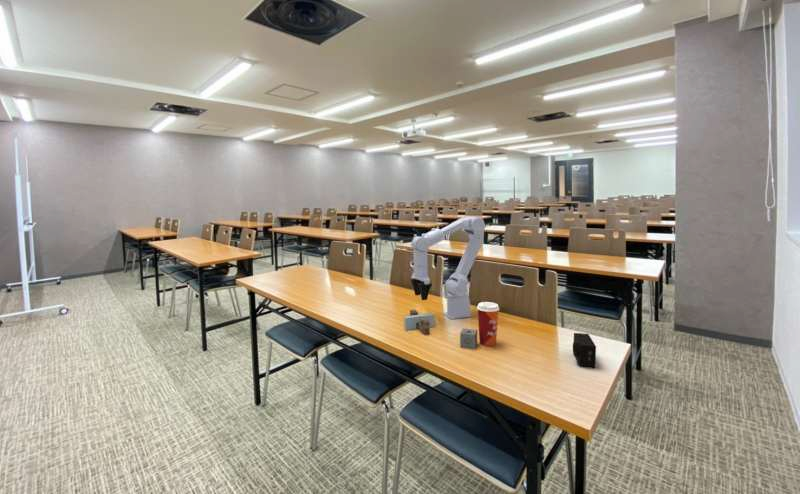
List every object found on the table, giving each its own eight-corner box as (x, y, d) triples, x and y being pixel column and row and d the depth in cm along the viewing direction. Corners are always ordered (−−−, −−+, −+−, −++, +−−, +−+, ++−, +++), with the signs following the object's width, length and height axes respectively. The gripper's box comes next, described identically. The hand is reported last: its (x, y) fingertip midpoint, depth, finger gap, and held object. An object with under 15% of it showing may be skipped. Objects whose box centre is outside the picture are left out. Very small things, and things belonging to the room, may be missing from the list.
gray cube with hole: (460, 347, 126) (460, 333, 125) (463, 341, 130) (463, 328, 130) (474, 349, 124) (474, 334, 123) (477, 343, 128) (477, 329, 128)
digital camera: (568, 352, 120) (569, 332, 119) (587, 354, 118) (588, 333, 117) (574, 366, 110) (576, 344, 109) (594, 368, 108) (596, 346, 107)
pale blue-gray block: (432, 324, 148) (432, 313, 147) (434, 326, 146) (434, 314, 145) (404, 328, 144) (404, 316, 143) (405, 330, 142) (405, 318, 142)
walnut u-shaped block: (410, 321, 152) (410, 310, 152) (414, 321, 153) (414, 309, 152) (424, 334, 137) (424, 322, 137) (429, 334, 138) (429, 321, 137)
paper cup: (495, 349, 123) (495, 309, 121) (473, 344, 127) (473, 305, 125) (501, 341, 130) (502, 303, 128) (481, 337, 134) (481, 300, 132)
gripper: (405, 263, 156) (406, 294, 158) (417, 269, 143) (418, 303, 144) (421, 262, 158) (421, 292, 160) (434, 268, 145) (434, 301, 147)
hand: (421, 297), depth 152 cm, fingers open, 7 cm apart
